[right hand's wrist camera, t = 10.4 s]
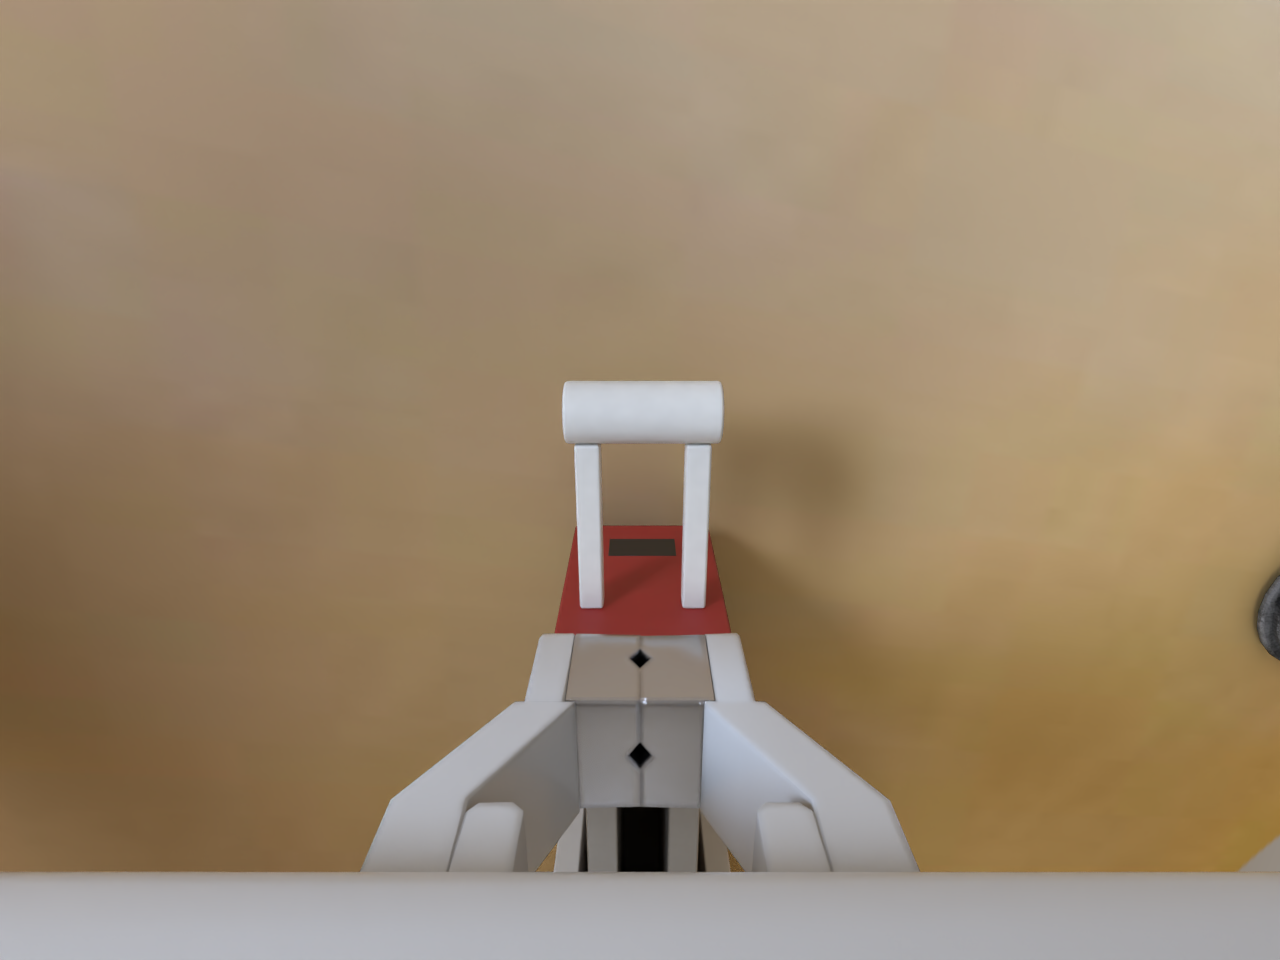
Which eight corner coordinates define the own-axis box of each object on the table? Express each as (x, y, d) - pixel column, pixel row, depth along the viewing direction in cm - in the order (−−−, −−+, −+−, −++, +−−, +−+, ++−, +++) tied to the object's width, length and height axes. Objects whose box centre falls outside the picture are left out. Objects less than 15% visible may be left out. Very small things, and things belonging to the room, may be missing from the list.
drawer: (568, 343, 20) (534, 411, 13) (715, 343, 20) (753, 410, 13) (589, 888, 28) (573, 1099, 22) (694, 888, 28) (710, 1099, 22)
